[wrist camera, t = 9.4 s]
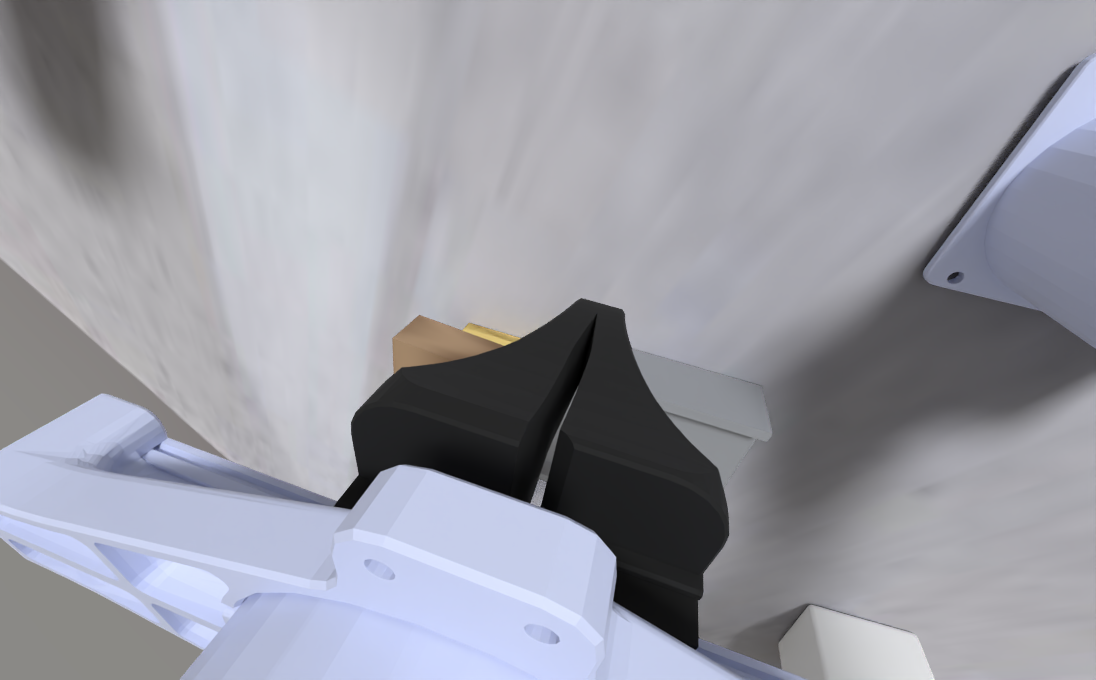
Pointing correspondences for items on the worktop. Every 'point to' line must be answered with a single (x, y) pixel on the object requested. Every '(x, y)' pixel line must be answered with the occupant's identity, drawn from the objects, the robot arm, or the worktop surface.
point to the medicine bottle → (850, 649)
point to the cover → (435, 344)
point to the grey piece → (702, 411)
